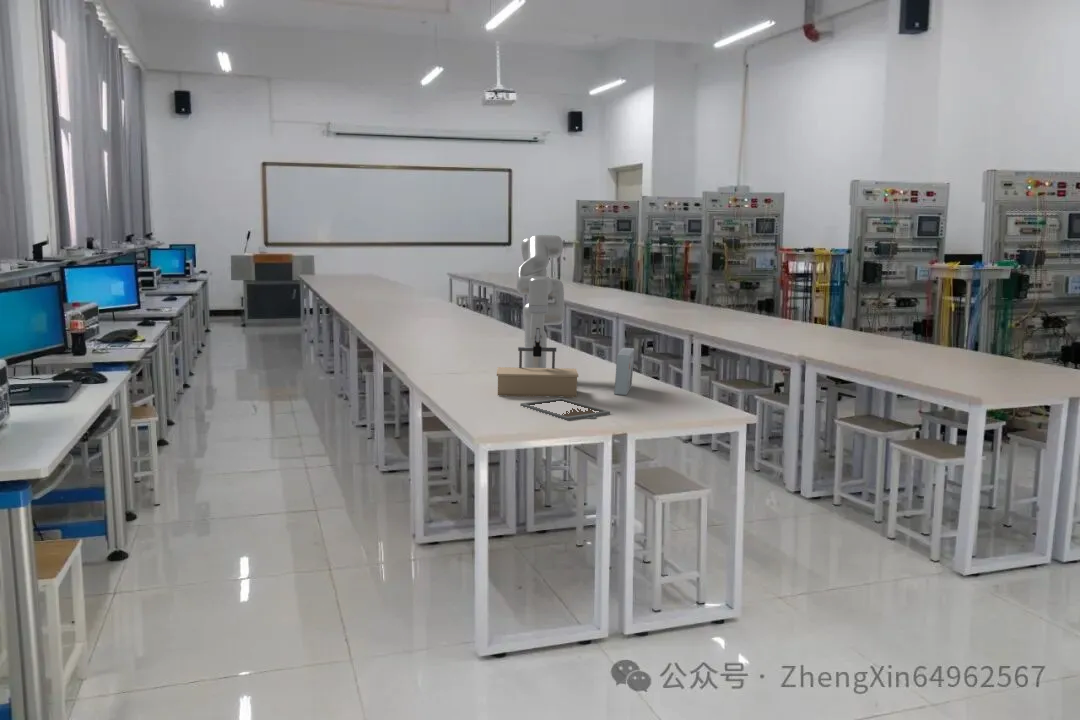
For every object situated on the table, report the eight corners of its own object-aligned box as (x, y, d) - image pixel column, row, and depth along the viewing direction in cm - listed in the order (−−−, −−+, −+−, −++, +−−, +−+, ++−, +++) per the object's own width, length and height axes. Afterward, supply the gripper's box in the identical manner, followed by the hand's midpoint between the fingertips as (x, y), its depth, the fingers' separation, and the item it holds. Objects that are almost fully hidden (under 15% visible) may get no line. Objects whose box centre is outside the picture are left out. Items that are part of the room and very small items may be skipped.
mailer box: (498, 388, 339) (498, 369, 338) (574, 390, 340) (574, 371, 339) (497, 395, 325) (497, 376, 324) (576, 397, 326) (577, 377, 325)
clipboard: (561, 397, 320) (615, 412, 296) (561, 401, 320) (615, 417, 296) (520, 403, 308) (572, 419, 285) (519, 407, 308) (572, 424, 285)
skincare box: (627, 395, 332) (629, 355, 329) (613, 394, 333) (615, 354, 330) (633, 385, 352) (634, 347, 349) (619, 385, 353) (621, 346, 351)
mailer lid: (497, 369, 339) (497, 346, 338) (575, 370, 340) (576, 347, 338) (496, 375, 324) (496, 352, 322) (578, 377, 325) (579, 353, 323)
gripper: (528, 307, 342) (527, 352, 345) (528, 311, 327) (527, 359, 330) (547, 307, 343) (546, 353, 346) (548, 311, 327) (547, 359, 330)
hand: (537, 355), depth 338 cm, fingers closed on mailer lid
